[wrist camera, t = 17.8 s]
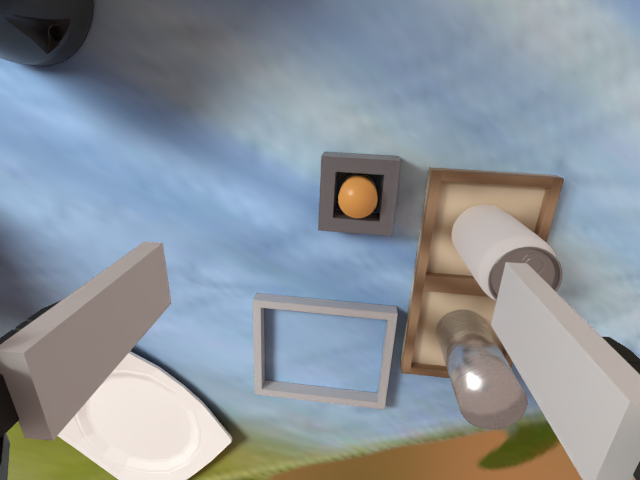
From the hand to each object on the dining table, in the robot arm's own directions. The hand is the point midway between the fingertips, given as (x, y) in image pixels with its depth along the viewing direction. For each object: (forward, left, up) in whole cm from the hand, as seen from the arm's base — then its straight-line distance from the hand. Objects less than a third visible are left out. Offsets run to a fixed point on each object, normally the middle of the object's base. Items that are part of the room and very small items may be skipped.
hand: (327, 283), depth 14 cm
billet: (+19, +15, -28) cm, 37 cm away
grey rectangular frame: (+25, -2, -29) cm, 38 cm away
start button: (+3, +1, -28) cm, 28 cm away
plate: (+42, -30, -29) cm, 59 cm away
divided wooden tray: (+13, +15, -29) cm, 35 cm away
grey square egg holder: (+3, +1, -29) cm, 29 cm away
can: (+6, +15, -28) cm, 32 cm away
